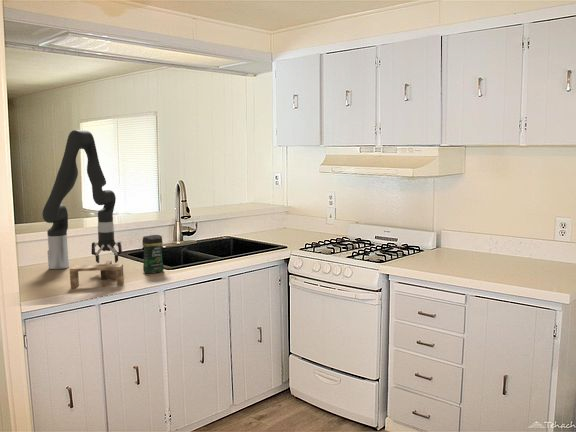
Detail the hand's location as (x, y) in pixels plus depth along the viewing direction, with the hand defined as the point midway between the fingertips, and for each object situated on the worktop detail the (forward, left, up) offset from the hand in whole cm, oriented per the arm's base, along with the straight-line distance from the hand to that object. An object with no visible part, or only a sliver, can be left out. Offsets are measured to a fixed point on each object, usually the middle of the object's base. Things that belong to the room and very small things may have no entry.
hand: (107, 262), depth 273 cm
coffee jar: (+23, -3, -5) cm, 24 cm away
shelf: (0, -25, -5) cm, 25 cm away
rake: (+3, -5, -5) cm, 8 cm away
